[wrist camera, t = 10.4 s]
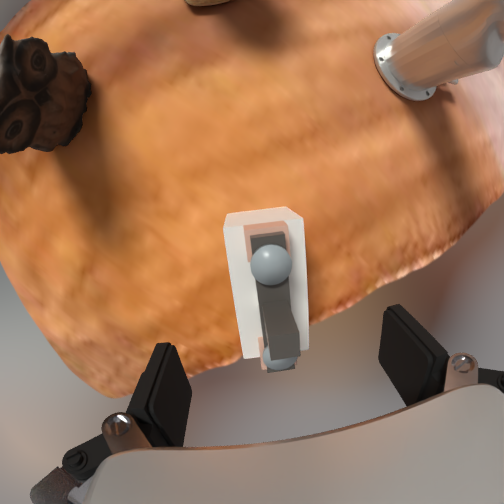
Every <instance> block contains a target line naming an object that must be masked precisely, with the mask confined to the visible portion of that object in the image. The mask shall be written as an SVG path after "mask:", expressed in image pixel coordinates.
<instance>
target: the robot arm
mask: <svg viewBox="0 0 504 504" xmlns="http://www.w3.org/2000/svg"><path fill="white" fill-rule="evenodd" d="M503 54H504V0H452V1H451V2H449V3H447V4H446V5H444V6H443V7H441V8H439V9H438V10H436V11H435V12H433V13H432V14H430V15H428V16H427V17H425V18H424V19H422V20H421V21H419V22H418V23H416V24H415V25H414V26H412V27H411V28H409V29H408V30H406V31H405V32H404V33H402V34H397V33H388V34H385V35H383V36H382V37H380V38H379V39H378V40H377V42H376V43H375V46H374V60H375V64H376V66H377V69H378V71H379V73H380V75H381V76H382V78H383V79H384V80H385V82H386V83H387V84H388V85H389V86H390V87H391V88H392V89H393V90H394V91H395V92H396V93H398V94H399V95H401V96H402V97H404V98H406V99H409V100H413V101H422V100H426V99H428V98H430V97H431V96H432V95H433V94H434V92H435V90H436V87H437V86H438V85H441V84H444V83H447V82H448V83H451V84H454V85H456V84H457V83H458V79H460V78H464V77H467V76H470V75H474V74H478V73H481V72H485V71H489V70H492V69H494V68H496V67H497V66H498V65H499V64H500V62H501V60H502V58H503ZM447 353H448V352H447V351H446V350H445V349H444V348H443V347H442V346H441V345H440V344H439V343H438V342H437V341H436V340H435V338H434V337H433V336H432V335H431V334H430V333H429V332H427V330H426V329H425V328H423V326H422V325H420V323H419V322H418V321H417V320H415V318H413V316H412V315H410V314H409V313H408V312H407V311H406V310H405V309H404V308H403V307H402V306H401V305H400V304H396V305H393V306H389V307H387V310H386V311H384V315H383V324H382V334H381V341H380V349H379V356H378V358H379V362H380V364H381V366H382V367H383V369H384V370H385V372H386V374H387V375H388V376H389V378H390V380H391V382H392V383H393V385H394V386H395V388H396V389H397V391H398V393H399V394H400V396H401V398H402V399H403V401H404V402H405V404H406V406H407V407H405V408H402V409H399V410H397V411H394V412H391V413H388V414H386V415H383V416H380V417H377V418H374V419H370V420H367V421H364V422H360V423H357V424H354V425H350V426H346V427H342V428H338V429H335V430H330V431H326V432H322V433H318V434H313V435H307V436H302V437H297V438H291V439H285V440H278V441H272V442H263V443H254V444H244V445H231V446H211V447H183V443H184V436H185V431H186V425H187V419H188V414H189V407H190V402H191V397H192V390H191V386H190V384H189V381H188V379H187V376H186V374H185V371H184V368H183V366H182V363H181V361H180V358H179V355H178V352H177V350H176V347H175V346H174V345H171V343H169V342H167V343H157V344H156V346H155V348H154V351H153V353H152V355H151V358H150V360H149V363H148V365H147V367H146V370H145V372H143V373H142V374H141V377H140V379H139V381H138V384H137V386H136V389H135V391H134V393H133V396H132V398H131V401H130V404H129V406H128V408H127V411H126V413H123V412H119V413H114V414H112V415H110V416H108V417H107V418H106V419H105V420H104V422H103V424H102V434H100V435H99V436H97V437H94V438H93V439H91V440H89V441H87V442H85V443H83V444H81V445H79V446H77V447H75V448H73V449H71V450H69V451H67V453H66V454H65V455H64V457H63V460H62V465H63V466H62V467H61V468H59V467H56V468H55V469H54V470H53V471H51V472H50V473H49V474H48V475H47V476H46V477H44V478H43V479H42V480H41V481H40V482H39V483H37V484H36V485H35V486H34V487H33V488H32V489H31V492H30V498H31V501H32V502H33V503H34V504H504V371H496V370H490V369H482V368H478V363H477V361H476V359H475V358H474V357H473V356H472V355H469V354H467V353H456V354H454V355H452V356H451V357H450V356H449V355H448V354H447Z"/></svg>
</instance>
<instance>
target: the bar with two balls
mask: <svg viewBox="0 0 504 504" xmlns="http://www.w3.org/2000/svg"><path fill="white" fill-rule="evenodd" d="M250 242H251V250H252V257H251V261H250V267H251V272H252V275H253V276H254V278H255V283H256V290H257V296H258V304H259V312H260V321H261V328H262V335H263V342H264V350H263V354H262V356H263V362H264V364H265V365H266V366H267V372H268V373H270V372H277V371H283V370H290V369H295V362H296V360H297V357H298V356H300V334H299V330H298V327H297V324H296V322H295V319H294V316H293V314H292V311H291V300H290V287H289V274H290V272H291V269H292V260H291V257H290V255H289V254H288V252H287V251H286V241H285V234H284V232H283V231H280V232H272V233H264V234H257V235H250Z"/></svg>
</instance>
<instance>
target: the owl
mask: <svg viewBox="0 0 504 504" xmlns="http://www.w3.org/2000/svg"><path fill="white" fill-rule="evenodd" d="M91 94H92V92H91V84H90V82H89V81H88V78H87V70H86V69H83V66H82V64H81V62H80V61H79V60H78V58H77V57H76V54H75V52H68V53H66V52H62V53H51V52H50V50H49V47H48V44H47V42H44V41H43V40H42V39H39V38H33V37H30V38H27V39H22V40H17V41H14V40H12V39H11V36H10V35H9V34H7V35H6V36H5V37H4V39H3V41H2V42H1V44H0V154H3V153H5V152H7V153H8V154H12V153H16V152H19V151H24V150H25V149H26V148H27V147H31V148H33V149H36V150H41V151H44V152H50V151H52V150H53V149H54V148H55V146H56V145H62V146H67V145H69V143H70V142H71V140H73V139H74V137H75V136H76V135H77V133H78V132H80V130H81V128H82V125H83V124H82V123H83V122H82V115H83V113H85V112H86V111H87V100H88V98H89V97H90V96H91Z"/></svg>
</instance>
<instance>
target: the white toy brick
mask: <svg viewBox="0 0 504 504" xmlns="http://www.w3.org/2000/svg"><path fill="white" fill-rule="evenodd" d="M223 231H224V238H225V245H226V252H227V259H228V265H229V272H230V278H231V285H232V291H233V297H234V303H235V310H236V316H237V322H238V328H239V333H240V339H241V345H242V351H243V357H244V359H247V358H255V357H260V359H261V366H262V370H264V369H267V366H266V365H265V364H264V362H263V356H262V354H263V350H264V342H263V335H262V328H261V321H260V312H259V304H258V296H257V290H256V283H255V278H254V276H253V275H252V272H251V267H250V261H251V257H252V250H251V242H250V235H257V234H264V233H272V232H280V231H283V232H284V234H285V241H286V251H287V252H288V254H289V255H290V257H291V260H292V269H291V272H290V274H289V287H290V300H291V311H292V314H293V316H294V319H295V322H296V324H297V327H298V330H299V334H300V351H303V350H308V349H309V318H308V290H307V269H306V252H305V237H304V223H303V218H302V217H301V216H299V215H298V214H296V213H295V212H293V211H292V210H290V209H289V208H287V207H278V208H269V209H260V210H252V211H244V212H236V213H228V214H227V216H226V219H225V223H224V226H223ZM296 364H297V360H296V362H295V365H296Z"/></svg>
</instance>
